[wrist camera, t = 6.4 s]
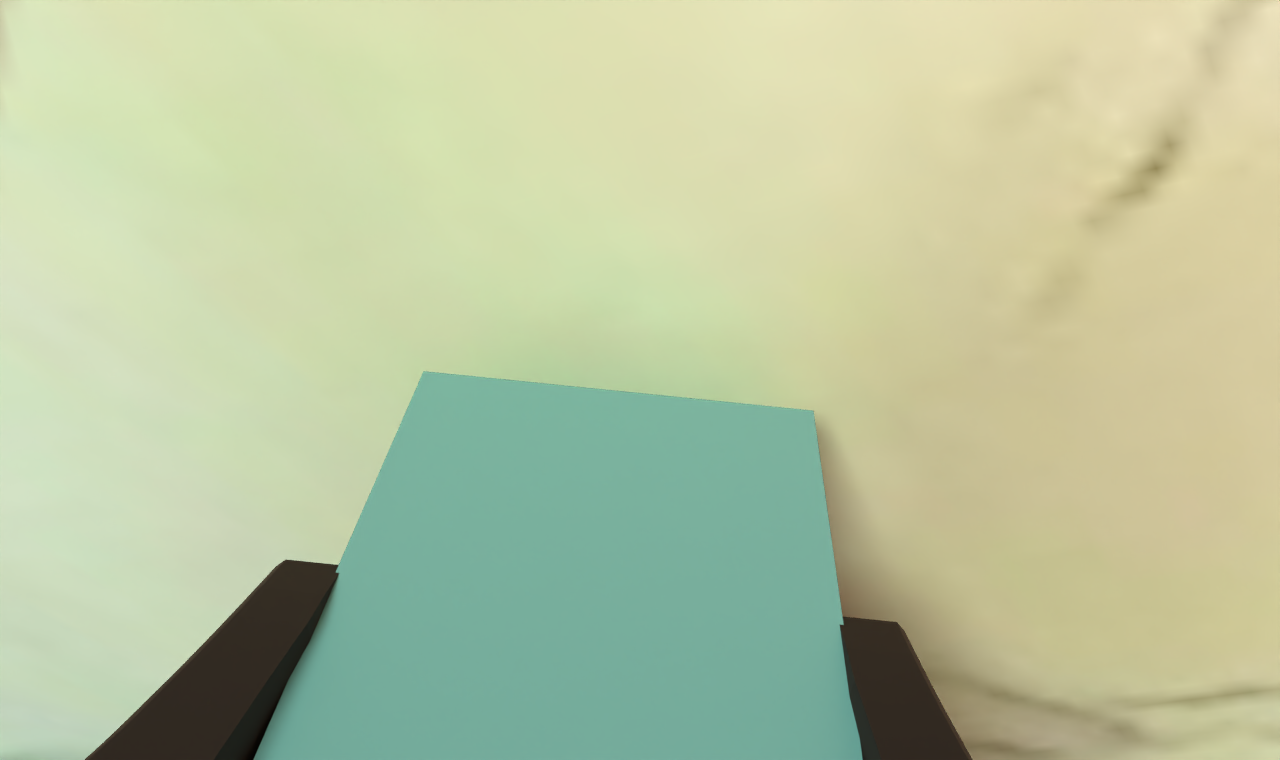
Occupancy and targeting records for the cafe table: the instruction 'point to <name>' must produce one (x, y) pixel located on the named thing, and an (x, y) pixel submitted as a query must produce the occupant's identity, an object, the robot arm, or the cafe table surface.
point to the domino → (580, 588)
